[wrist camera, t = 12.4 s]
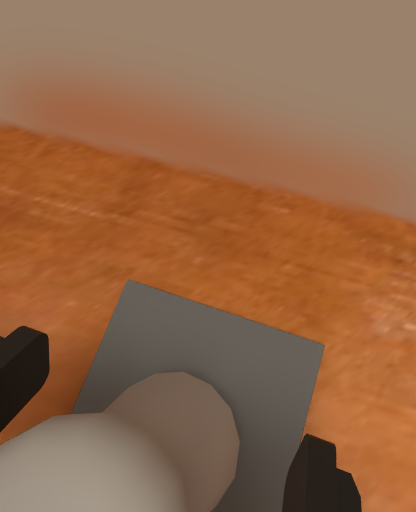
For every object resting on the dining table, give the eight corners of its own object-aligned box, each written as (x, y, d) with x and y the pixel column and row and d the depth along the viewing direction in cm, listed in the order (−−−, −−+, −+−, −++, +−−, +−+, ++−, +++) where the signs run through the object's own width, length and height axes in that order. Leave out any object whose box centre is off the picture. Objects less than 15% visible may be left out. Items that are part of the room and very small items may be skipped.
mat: (44, 489, 18) (38, 492, 18) (130, 281, 21) (127, 279, 21) (260, 588, 16) (261, 596, 16) (322, 346, 19) (324, 345, 19)
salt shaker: (100, 467, 18) (-233, 685, 5) (152, 353, 19) (-22, 321, 7) (212, 528, 17) (112, 987, 4) (258, 402, 18) (285, 471, 6)
